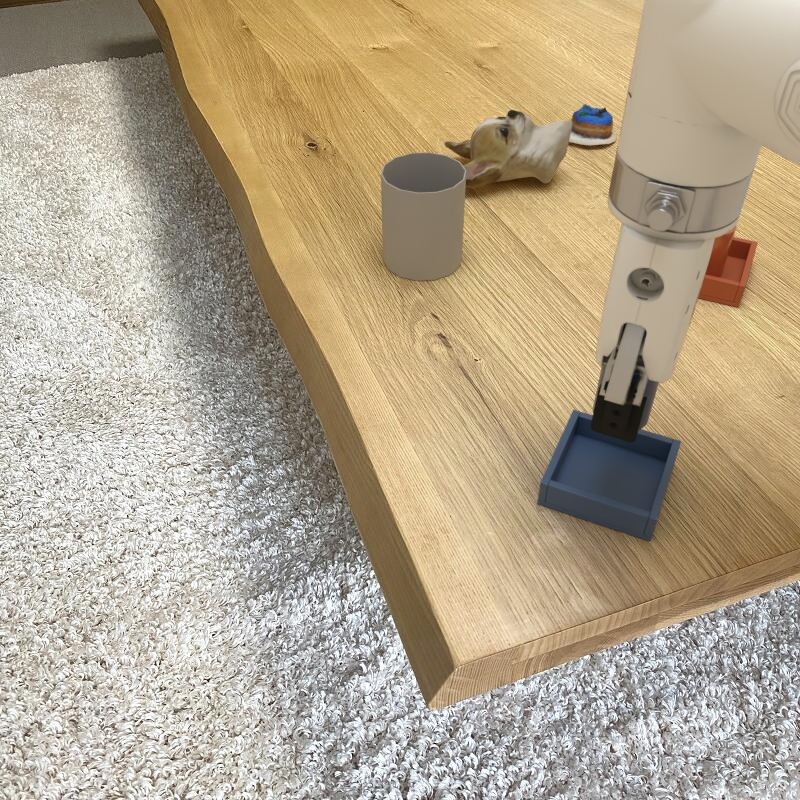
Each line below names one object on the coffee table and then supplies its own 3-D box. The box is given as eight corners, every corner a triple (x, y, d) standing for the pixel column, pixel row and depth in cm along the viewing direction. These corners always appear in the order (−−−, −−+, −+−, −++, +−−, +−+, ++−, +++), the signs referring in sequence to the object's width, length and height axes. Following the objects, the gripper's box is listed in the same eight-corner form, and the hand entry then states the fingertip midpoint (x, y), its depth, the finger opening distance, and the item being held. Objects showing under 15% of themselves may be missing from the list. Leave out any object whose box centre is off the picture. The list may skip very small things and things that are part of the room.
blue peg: (654, 404, 61) (670, 346, 58) (641, 439, 59) (657, 382, 55) (600, 388, 63) (613, 331, 59) (586, 423, 60) (598, 365, 56)
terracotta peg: (725, 264, 87) (739, 218, 83) (718, 285, 84) (733, 237, 80) (686, 255, 88) (698, 209, 84) (678, 275, 85) (690, 228, 82)
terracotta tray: (751, 262, 88) (758, 241, 86) (738, 307, 82) (745, 286, 80) (667, 243, 91) (672, 223, 89) (649, 286, 85) (654, 266, 83)
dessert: (632, 135, 108) (615, 103, 104) (596, 173, 109) (577, 143, 104) (594, 116, 114) (576, 85, 109) (559, 152, 114) (540, 123, 110)
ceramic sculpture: (578, 128, 91) (441, 134, 93) (573, 199, 97) (444, 204, 98) (569, 89, 99) (442, 95, 100) (564, 157, 105) (445, 162, 106)
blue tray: (674, 462, 67) (681, 440, 66) (650, 541, 61) (656, 520, 60) (569, 430, 70) (573, 409, 68) (536, 504, 64) (540, 482, 62)
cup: (370, 270, 87) (367, 183, 81) (400, 231, 93) (399, 146, 86) (446, 287, 85) (450, 199, 78) (472, 246, 91) (477, 160, 84)
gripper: (719, 277, 41) (646, 511, 54) (765, 136, 52) (695, 358, 65) (572, 242, 44) (535, 475, 56) (645, 115, 55) (600, 333, 67)
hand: (621, 410), depth 61 cm, fingers closed on blue peg, 4 cm apart
